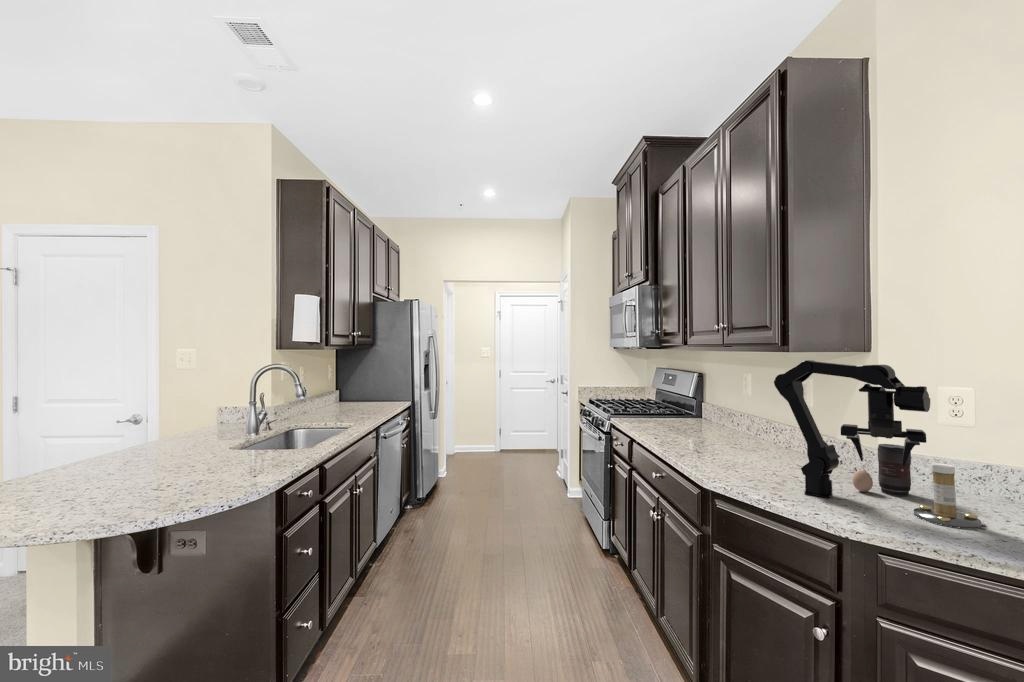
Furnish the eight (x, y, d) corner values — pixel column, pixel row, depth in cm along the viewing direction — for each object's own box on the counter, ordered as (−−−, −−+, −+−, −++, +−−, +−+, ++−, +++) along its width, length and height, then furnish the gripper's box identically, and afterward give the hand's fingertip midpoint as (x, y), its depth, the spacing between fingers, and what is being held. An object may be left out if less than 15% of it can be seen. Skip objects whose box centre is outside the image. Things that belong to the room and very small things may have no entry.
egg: (864, 489, 148) (863, 468, 148) (877, 494, 143) (876, 472, 143) (848, 489, 148) (848, 468, 148) (861, 494, 143) (860, 472, 143)
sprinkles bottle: (955, 514, 122) (952, 464, 122) (959, 519, 118) (956, 467, 118) (932, 511, 124) (929, 461, 125) (935, 516, 120) (932, 465, 121)
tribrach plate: (915, 521, 120) (915, 514, 120) (912, 507, 130) (912, 501, 130) (985, 533, 112) (985, 525, 112) (976, 518, 122) (976, 511, 122)
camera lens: (918, 498, 139) (917, 448, 139) (888, 496, 140) (886, 447, 141) (901, 490, 147) (900, 443, 147) (873, 488, 148) (871, 442, 149)
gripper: (838, 408, 129) (840, 463, 129) (927, 413, 118) (929, 474, 117) (841, 405, 138) (842, 456, 138) (923, 409, 126) (925, 466, 126)
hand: (882, 463), depth 129 cm, fingers open, 9 cm apart
